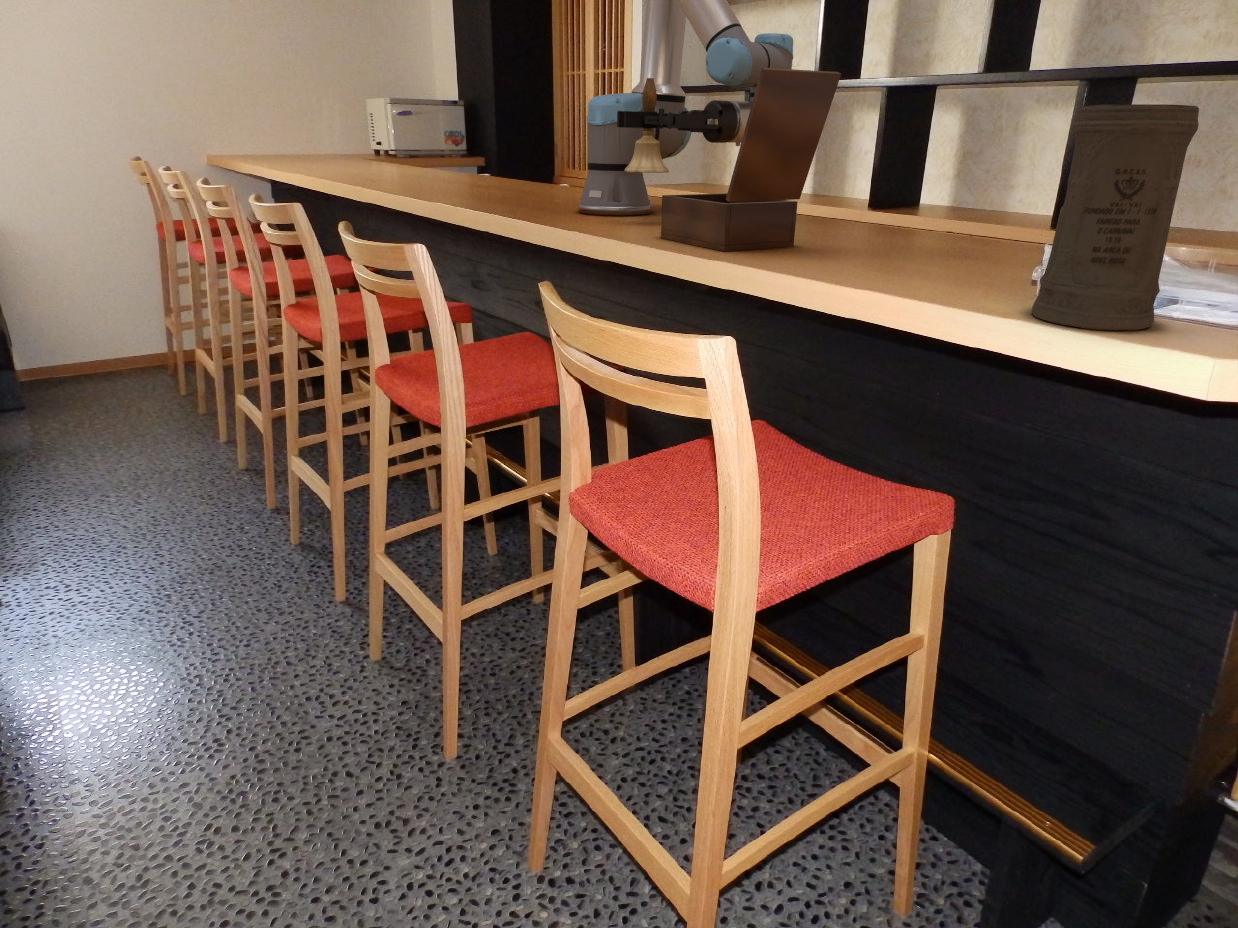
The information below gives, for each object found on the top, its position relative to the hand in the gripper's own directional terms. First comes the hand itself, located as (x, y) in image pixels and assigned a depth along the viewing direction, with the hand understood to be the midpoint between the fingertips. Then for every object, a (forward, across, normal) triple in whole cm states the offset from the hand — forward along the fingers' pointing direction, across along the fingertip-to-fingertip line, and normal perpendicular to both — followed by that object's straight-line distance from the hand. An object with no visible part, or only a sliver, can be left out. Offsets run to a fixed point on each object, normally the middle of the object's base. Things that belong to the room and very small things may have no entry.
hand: (621, 119), depth 150 cm
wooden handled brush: (-6, 0, -9) cm, 11 cm away
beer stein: (-2, -91, -17) cm, 92 cm away
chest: (-3, -29, -18) cm, 34 cm away
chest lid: (-3, -40, -2) cm, 40 cm away
